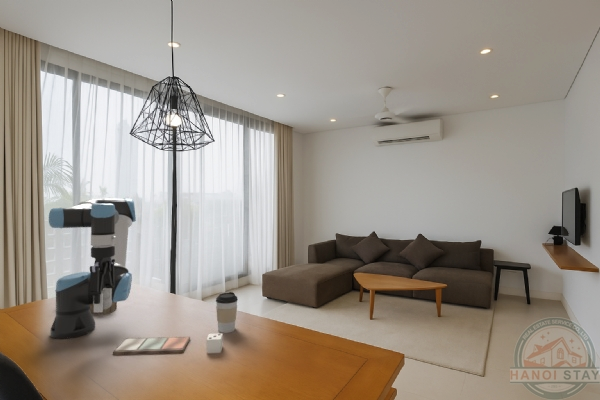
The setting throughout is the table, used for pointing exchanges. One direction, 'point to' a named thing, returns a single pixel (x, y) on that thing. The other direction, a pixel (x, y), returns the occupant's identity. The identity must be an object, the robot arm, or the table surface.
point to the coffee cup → (226, 312)
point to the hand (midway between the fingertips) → (102, 308)
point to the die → (214, 343)
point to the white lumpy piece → (106, 299)
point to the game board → (152, 345)
